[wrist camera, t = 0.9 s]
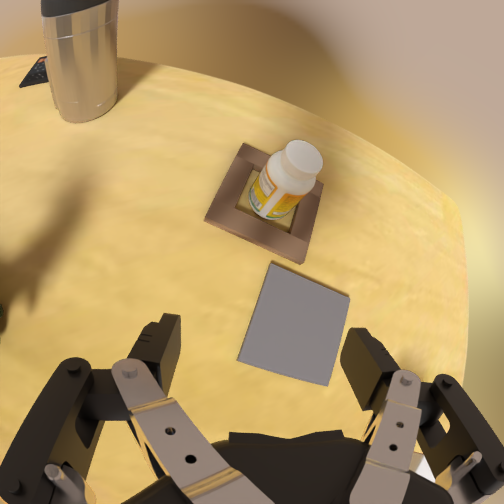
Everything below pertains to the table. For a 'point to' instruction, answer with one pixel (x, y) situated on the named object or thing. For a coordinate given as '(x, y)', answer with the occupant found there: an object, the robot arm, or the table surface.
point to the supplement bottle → (285, 179)
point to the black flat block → (36, 74)
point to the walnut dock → (253, 228)
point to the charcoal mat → (295, 327)
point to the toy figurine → (1, 311)
